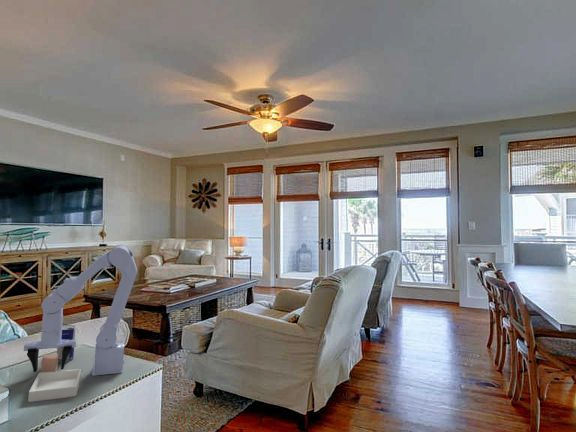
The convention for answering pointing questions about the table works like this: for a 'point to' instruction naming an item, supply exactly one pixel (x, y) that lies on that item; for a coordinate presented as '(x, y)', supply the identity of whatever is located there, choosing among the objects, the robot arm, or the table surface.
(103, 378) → the table surface
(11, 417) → the table surface
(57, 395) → the tray
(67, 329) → the energy drink
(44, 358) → the block
